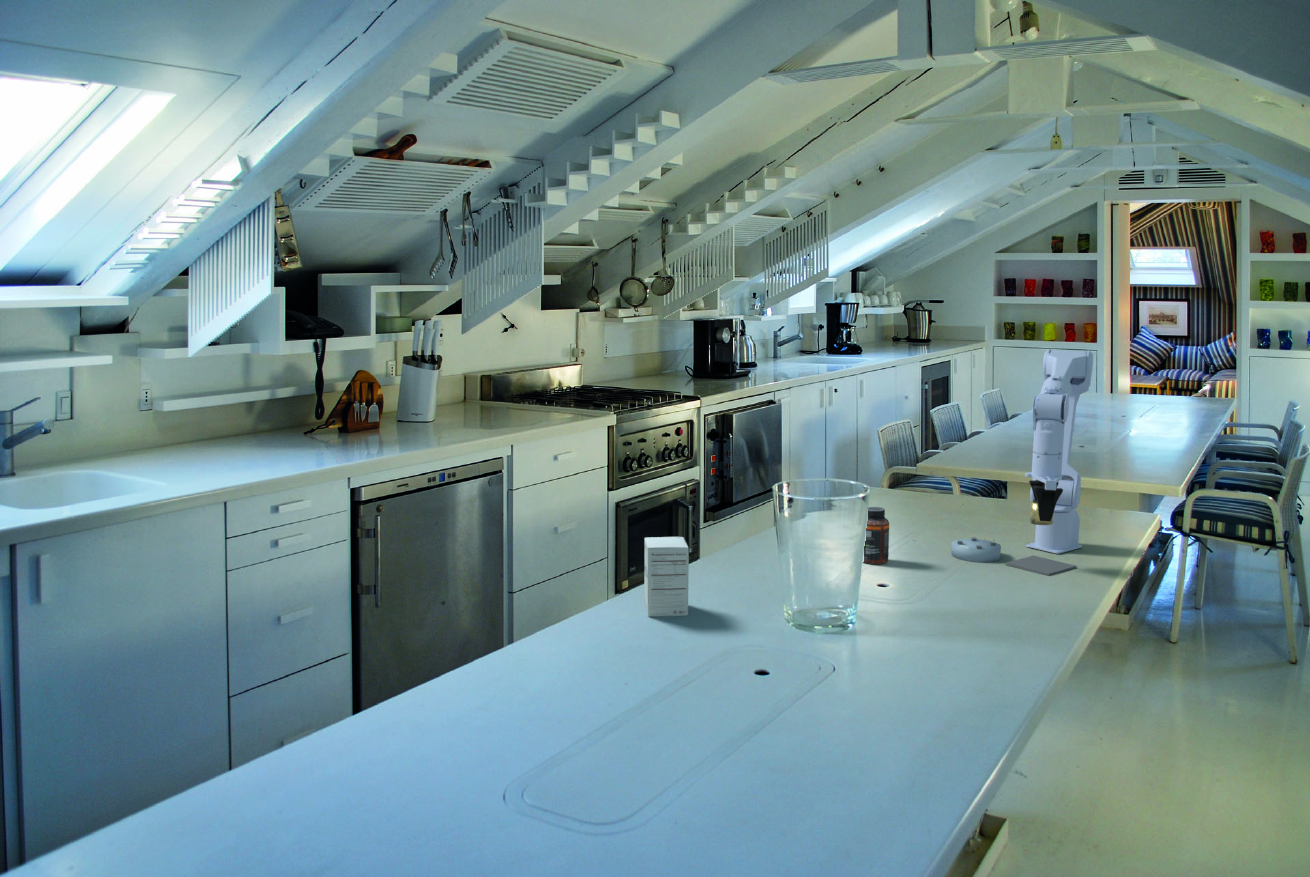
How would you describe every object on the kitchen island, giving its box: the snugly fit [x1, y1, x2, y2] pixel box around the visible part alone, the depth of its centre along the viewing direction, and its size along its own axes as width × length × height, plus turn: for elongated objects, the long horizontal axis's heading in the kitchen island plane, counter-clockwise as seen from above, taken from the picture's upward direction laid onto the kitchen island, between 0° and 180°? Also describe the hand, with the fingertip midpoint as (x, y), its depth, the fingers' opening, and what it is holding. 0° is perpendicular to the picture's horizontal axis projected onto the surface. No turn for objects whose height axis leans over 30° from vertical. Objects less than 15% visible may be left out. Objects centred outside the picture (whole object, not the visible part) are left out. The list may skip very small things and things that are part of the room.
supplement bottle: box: [863, 506, 890, 565], centre depth 221 cm, size 6×6×11 cm
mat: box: [1004, 555, 1077, 577], centre depth 218 cm, size 10×10×1 cm
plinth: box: [951, 536, 1002, 563], centre depth 226 cm, size 10×10×3 cm
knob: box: [1029, 500, 1053, 526], centre depth 217 cm, size 4×4×5 cm
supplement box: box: [643, 536, 690, 618], centre depth 188 cm, size 7×7×13 cm
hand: (1043, 518), depth 217 cm, fingers closed on knob, 4 cm apart
